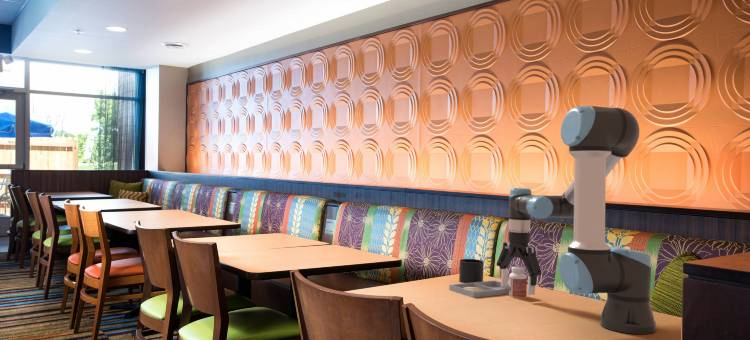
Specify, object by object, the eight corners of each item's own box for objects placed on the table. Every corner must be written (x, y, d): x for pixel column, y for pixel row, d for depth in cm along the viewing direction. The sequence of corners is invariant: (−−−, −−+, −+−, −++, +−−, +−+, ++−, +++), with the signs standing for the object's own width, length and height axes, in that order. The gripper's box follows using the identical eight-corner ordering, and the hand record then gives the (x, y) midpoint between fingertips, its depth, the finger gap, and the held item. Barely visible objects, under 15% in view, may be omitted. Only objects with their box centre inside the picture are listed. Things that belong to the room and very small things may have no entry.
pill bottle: (530, 299, 209) (531, 268, 209) (518, 301, 205) (519, 269, 205) (516, 295, 214) (517, 265, 214) (505, 297, 210) (505, 266, 210)
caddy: (520, 294, 217) (520, 287, 217) (473, 299, 206) (473, 292, 206) (494, 286, 229) (494, 280, 229) (449, 291, 218) (449, 284, 218)
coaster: (488, 293, 214) (488, 290, 214) (471, 295, 210) (471, 292, 210) (474, 289, 220) (474, 286, 220) (458, 291, 217) (458, 287, 217)
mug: (468, 279, 244) (468, 257, 244) (487, 284, 234) (488, 261, 234) (450, 280, 239) (450, 258, 239) (469, 286, 229) (470, 263, 229)
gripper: (553, 235, 201) (551, 297, 201) (503, 227, 222) (501, 282, 223) (537, 236, 197) (535, 299, 197) (488, 227, 219) (486, 284, 219)
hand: (517, 290), depth 210 cm, fingers open, 13 cm apart
